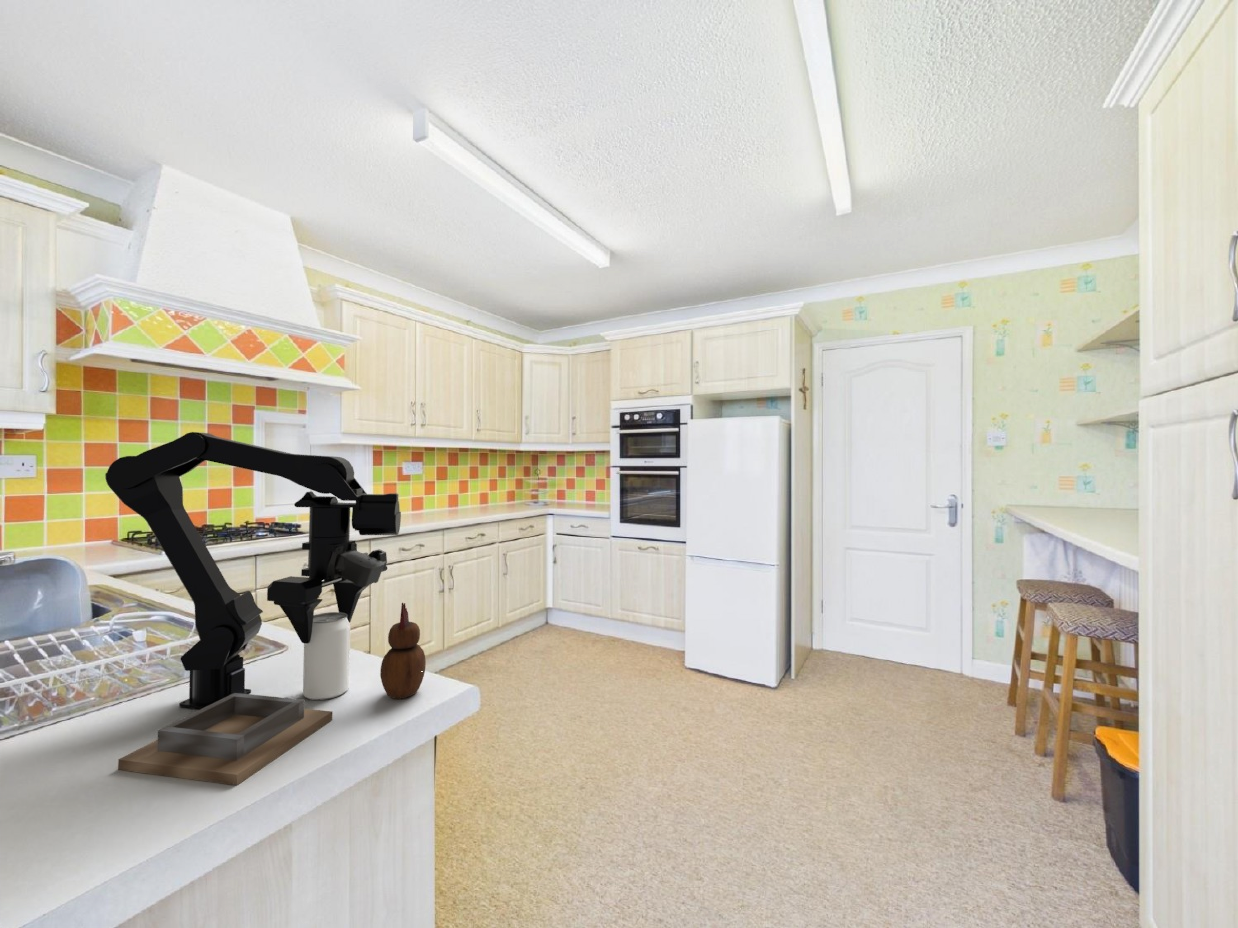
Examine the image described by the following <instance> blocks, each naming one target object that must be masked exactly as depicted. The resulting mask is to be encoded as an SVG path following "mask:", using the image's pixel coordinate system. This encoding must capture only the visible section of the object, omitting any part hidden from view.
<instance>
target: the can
mask: <svg viewBox="0 0 1238 928" xmlns="http://www.w3.org/2000/svg"><path fill="white" fill-rule="evenodd" d="M347 616H348V615H347V614H346V613H341V612H339V611H333V612H322V613H321V612H320V613H317V614H314V616H313V625H312V634H311V639H310V642H309V643H307V644H306V643H303V669H302V670H303V675H302V677H303V679H302V681H303V685H302V694H303V695H302V696H303V697H305V698H306V699H307V700H310V701H325V700H326V701H327V700H331V699H335V698H338V697H340V696H342V695H344V694H345V693H346V692H347V691H348V690H349V688H350V667H351V666H350V664H351V663H350V661H351V657H350V656H351V622H350V623H349V621H348V619H347Z"/></svg>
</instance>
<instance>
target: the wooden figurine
mask: <svg viewBox="0 0 1238 928" xmlns="http://www.w3.org/2000/svg"><path fill="white" fill-rule="evenodd" d="M409 618H410V617H409V611H408V608H407V606H406V603H405V602H401V607H400V618H399V620H400V621H399V622H397V623H395V624H393V625H392V626H391V627H390V629H389V632H388V634H387V635H388V636H387V639H388V640H387V641H388V644H389V646H390V649H389V650H388V651H387V652H386V654H385V655H384V656H383V659H382V661H381V663H380V664H381V665H380V674H379V676H380V680H381V683H382V687H383V690H384V691H385V693H386V695H387V696H388V697H390V698H392V699H397V700H398V699H405V698H408V697H411V696H412V695H414V694H416V693H417V692H418V691H419V690H420V687H421V684H422V683H423V680H424V677H425V673H426V672H425V671H426V663H427V662H426V655H425V651H424V649H423V648H422V646H421V645H420V644H418V643H419V642H420V636H421V630H420V627H419V625H418V624H417V623H416V622H413V621H409ZM421 671H423V672H421Z"/></svg>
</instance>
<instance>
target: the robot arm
mask: <svg viewBox="0 0 1238 928" xmlns="http://www.w3.org/2000/svg"><path fill="white" fill-rule="evenodd" d="M205 461H208V462H211V463H212V462H213V463H216V464H217V463H218V464H222V465H226V466H231V467H236V468H238V469H239V468H241V469H245V470H250V471H255V472H258V473H263V474H266V475H267V474H268V475H274V476H277V477H281V478H284V479H286V480H289V481H290V482H292V483H294V484H295V485H299V486H301V487H303V488H306V489H309V490H310V491H306V492H305V493H304V495H303V496H302V497H301V498H300V499H298V500H297V501H296V502H295V503H294V507H295V508H309V518H308V519H309V520H308V521H309V523H308V524H309V525H308V526H309V527H308V541H305V542H302V544H301V549H302V550H304V551H305V550H307V551H308V553H307V556H308V557H307V558H308V559H307V561H308V562H307V567H305V568H301V570H300V571H301V575H300V576H292V575H291V576H287V577H283V578H279V579H276V580H275V579H274V580H272V582H271V583H270V584H268V586H267V590H266V593H267V594H266V601H267V602H273V604H274V605H275V606H279V607H280V609H281V610H282V612H283V613H284V614H285V616H286V617H287V619H288V620H289V622H290V623H291V625H292V627H293V629H294V631H295V633H296V634H297V636H298V639H299V640H300V641H301V643H302V644H304V643H306V644H307V643H309V642H310V639H311V634H312V625H313V616H314V615H315V609H316V608H317V607H318V606H319V605H320V604H321V603H322V601H323V599H322V598H320V596H321V594H322V592H323V588H325V587H329V586H331V585H332V586H333V590H334V594H335V599H336V600H335V601H336V604H337V610H338V611H337V612H341V613H346V614H347V615H348V616H347V619H348V621H349V623H350V624H351V621H352V618H353V616H354V612H355V610H356V606H357V605H358V602H359V600H360V598H361V595H362V592H363V591H364V590H366V588H368V587H369V586H370V585H372V584H377V583H378V582H379V580H380V577H381V574H382V573H384V572H385V571H387V570H388V566H387V564H388V557H387V551H384V550H382V549H379V548H378V549H374V550H372V551H371V552H370V553H368V552H361V551H359V550H357V549H358V544H357V542H356V540H351V539H350V534H351V533H350V531H351V527H352V529H353V530H354V532H355V531H358V533H359V535H360V536H399V534H400V529H401V518H402V511H400V510H401V509H400V501H399V493H398V492H393V493H392V492H391V493H386V494H383V493H382V494H378V493H376V494H373V493H371V494H370V493H367V492H366V490H364V488H363V487H362V486H361V484H360V483H359V482H358V480H357V479H356V478H355V471H354V470H355V469H354V467H353V465H352V463H350V461H349V460H347V459H346V458H344V457H340V456H333V455H332V456H331V455H315V454H314V455H313V454H298V453H297V454H296V453H290V452H285V451H282V450H277V449H273V448H268V447H264V446H259V445H255V444H250V443H246V442H241V441H236V440H233V439H229V438H225V437H224V438H223V437H219V436H216V435H214V434H212V433H209V432H196V431H191V432H186V433H185V434H183V435H182V436H180V437H178V438H176V439H174V440H172V441H169V442H166V443H163V444H162V445H159V446H156V447H153V448H151V449H148V450H145V451H143V452H141V453H139V454H137V455H125V456H122V457H119V458H117V459H115V460H114V461H113V462H112V463H111V464H110V465H109V466H108V469H107V471H106V472H105V474H104V477H105V481H106V484H107V486H108V488H110V490H111V491H112V492H113V493H114V495H115V496H116V497H117V498H118V499H119V500H120V501H121V502H122V503H123V504H124V505H125V506H126V507H127V508H129V509H131V511H132V512H135V514H137V515H139V516H140V517H142V518H143V519H144V521H146V523H147V525H148V527H149V528H150V530H151V532H152V533H153V535H154V536H155V537H154V538H155V539H156V541H157V542H158V544H159V546H160V548H161V550H162V551H163V552H164V554H165V555H166V558H167V560H168V561H169V563H170V564H171V566H172V568H173V569H174V571H175V573H176V575H177V576H178V578H179V580H180V581H181V583H182V585H183V586H184V588H185V590H186V592H187V594H188V595H189V597H190V598H191V600H192V602H193V607H194V626H195V627H194V628H195V629H196V632H197V635H198V637H199V641H197V642H196V643H195V644H193V646H191V648H189V649H188V650H187V651H186V652H185V653H183V655H181V656H180V662H181V663H182V667H183V669H184V670H185V671H187V672H188V671H189V689H188V690H189V693H188V695H189V696H188V697H189V698H186V699H185V700H182V701H180V702H179V705H178V706H179V707H181V708H189V709H190V708H191V709H197V710H198V709H199V710H200V709H202V708H204V707H207V706H209V705H211V704H213V703H215V702H217V701H219V700H221V699H223V698H225V697H227V696H229V695H231V694H233V693H242V694H251V693H252V689H251V688H249V689H248V688H245V683H246V673H245V672H246V668H245V667H244V656H241V655H240V653H242V651H245V650H246V648H247V646H248V644H249V642H251V640H253V639H255V637H256V636H257V635H258V634H259V632H260V630H261V628H262V625H263V621H262V616H261V614H262V613H264V610H262V609H261V608H260V607H259V606H258V605H257V604H256V602H255V599H254V596H253V594H252V592H251V591H250V590H247V591H246V592H243V593H242V594H240V593H239V592H237V591H235V590H234V589H232V588H231V586H230V585H229V584H228V582H227V581H226V579H225V577H224V575H223V573H222V572H221V570H220V568H219V566H218V564H217V563H216V561H215V559H214V558H213V556H212V554H211V552H210V551H209V549H208V547H207V545H206V543H205V542H204V541H203V538H202V536H201V535H200V533H199V532H198V530H197V528H196V526H195V524H194V523H193V521H192V519H191V518H190V516H189V514H188V512H187V511H186V509H185V506H184V497H183V496H184V494H183V492H184V491H183V488H184V487H183V484H182V481H181V478H180V477H182V476H184V475H187V474H189V473H190V472H191V471H193V470H194V469H196V468H197V467H198V466H200V465H202V464H203V463H204V462H205ZM314 492H316V493H319V494H323V496H317V495H316V494H315V493H314ZM325 494H327V496H325ZM328 494H331V495H333V496H329V495H328ZM338 499H339V500H340V501H345V502H340V501H339V500H338ZM346 501H351V502H346ZM354 501H355V502H354ZM351 509H352V511H351ZM350 522H351V523H350Z"/></svg>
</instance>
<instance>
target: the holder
mask: <svg viewBox="0 0 1238 928" xmlns="http://www.w3.org/2000/svg"><path fill="white" fill-rule="evenodd" d="M331 721H333V711H331V710H321V709H313V708H311V709H310V708H305V699H299V698H289V697H279V696H269V695H260V694H251V693H250V694H242V693H233V694H231V695H229V696H227V697H225V698H223V699H221V700H219V701H217V702H215V703H213V704H211V705H209V706H207V707H204V708H202V709H199V710H198V709H197V710H195V711H194V712H191V713H190V714H188V715H187V716H185V717H181V718H180V719H178V720H176V721H173V722H172V723H169V724H168V725H166V726H164V727H161V728H159V729H157V739H156V740H154V741H152V742H150V743H148V744H146V745H144V746H142V747H140V748H138V749H136V750H135V751H134V750H133V751H132V752H130V753H128V754H126V755H124V756H123V757H120V758H118V761H117V765H118V766H117V770H118V771H124V772H125V771H127V772H135V773H141V774H142V773H143V774H149V775H157V776H163V777H164V776H165V777H172V778H178V779H187V780H195V781H202V782H209V783H216V784H217V783H218V784H224V785H232V786H239V785H240V784H241V783H242V782H244V781H245V780H247V779H248V778H250V777H251V776H253V775H255V774H256V773H257V772H258V771H260V770H262V769H263V768H264V767H266V766H268V765H269V764H270V763H272V762H273V761H274V760H277V758H279V757H280V756H282V755H284V754H285V753H286V752H288V751H289V750H291V749H292V748H293V747H295V746H296V745H298V744H300V743H301V742H302V741H304V740H305V739H307V738H309V737H310V736H311V735H312V734H314V733H315V732H317V731H318V730H319V729H322V728H323V727H324V726H326V725H327V724H329V723H330V722H331Z"/></svg>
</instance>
